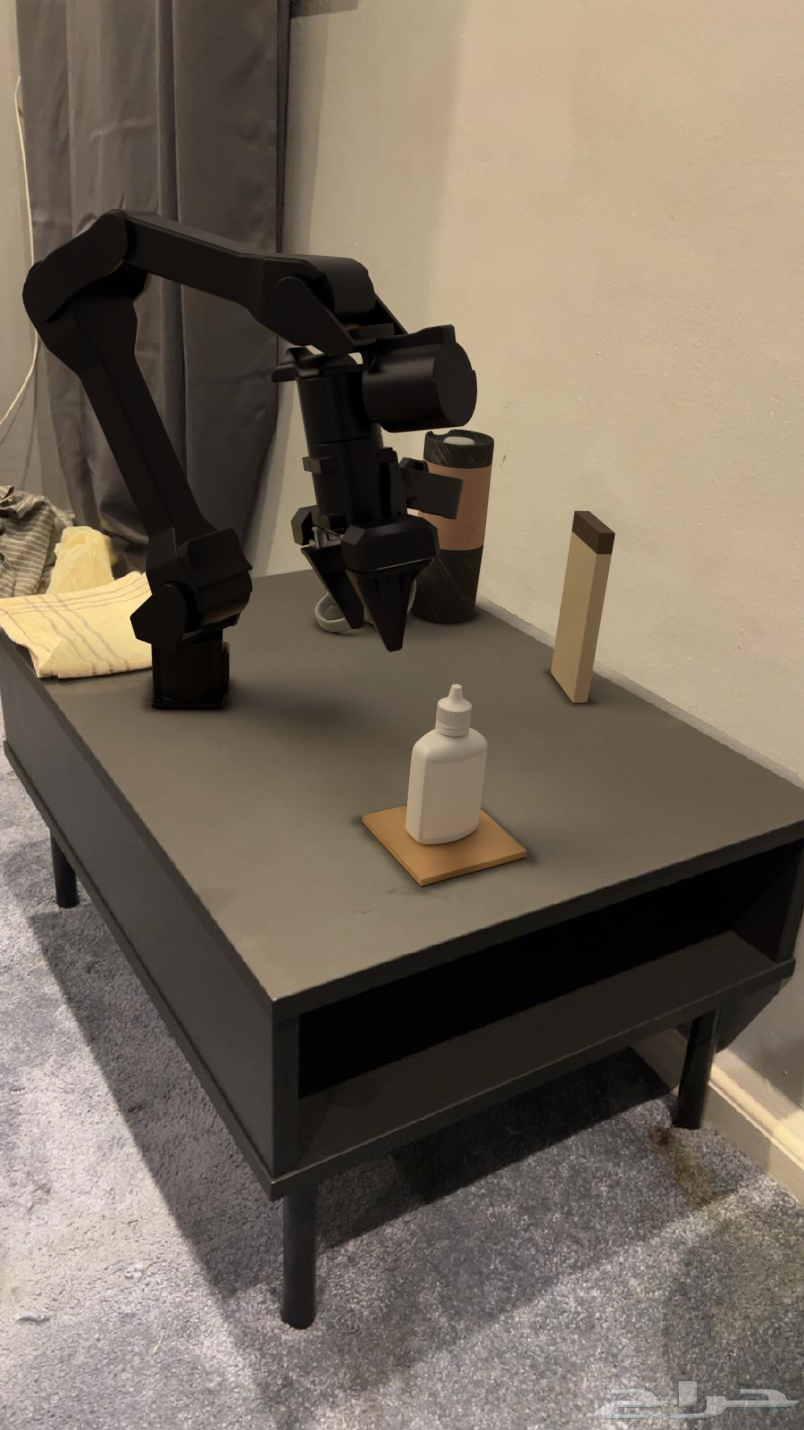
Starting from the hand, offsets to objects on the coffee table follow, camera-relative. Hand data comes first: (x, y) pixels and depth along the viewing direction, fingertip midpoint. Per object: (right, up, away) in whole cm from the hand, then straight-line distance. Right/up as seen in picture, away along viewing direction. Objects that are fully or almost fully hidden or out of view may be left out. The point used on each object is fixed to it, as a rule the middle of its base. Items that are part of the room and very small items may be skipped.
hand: (375, 638), depth 84 cm
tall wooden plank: (+19, -3, +21) cm, 28 cm away
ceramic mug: (-3, +4, +33) cm, 34 cm away
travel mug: (+7, +6, +37) cm, 38 cm away
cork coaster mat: (+5, -15, -5) cm, 17 cm away
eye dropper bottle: (+5, -15, -5) cm, 16 cm away
